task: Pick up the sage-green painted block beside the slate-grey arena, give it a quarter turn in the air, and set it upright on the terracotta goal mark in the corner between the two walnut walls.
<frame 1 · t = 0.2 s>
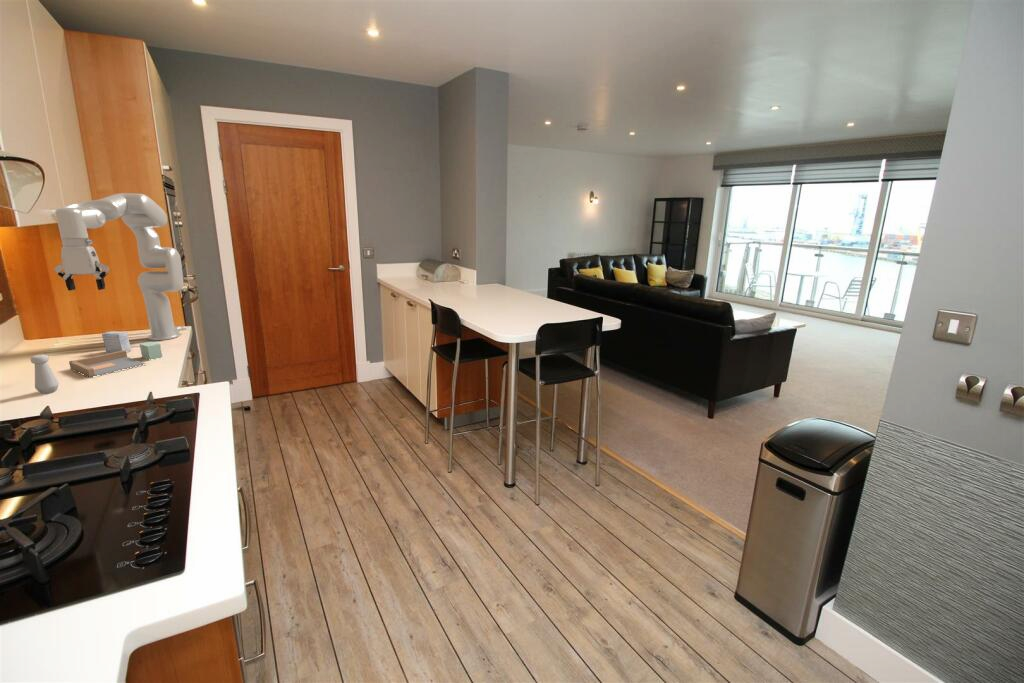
hand: (86, 289, 182), 31 cm above the worktop, tool pointing down, fingers open, 9 cm apart
medicine box: (119, 352, 210), on the worktop
green block: (152, 357, 202), on the worktop
arena: (109, 367, 190), on the worktop
salt shaker: (48, 392, 165), on the worktop
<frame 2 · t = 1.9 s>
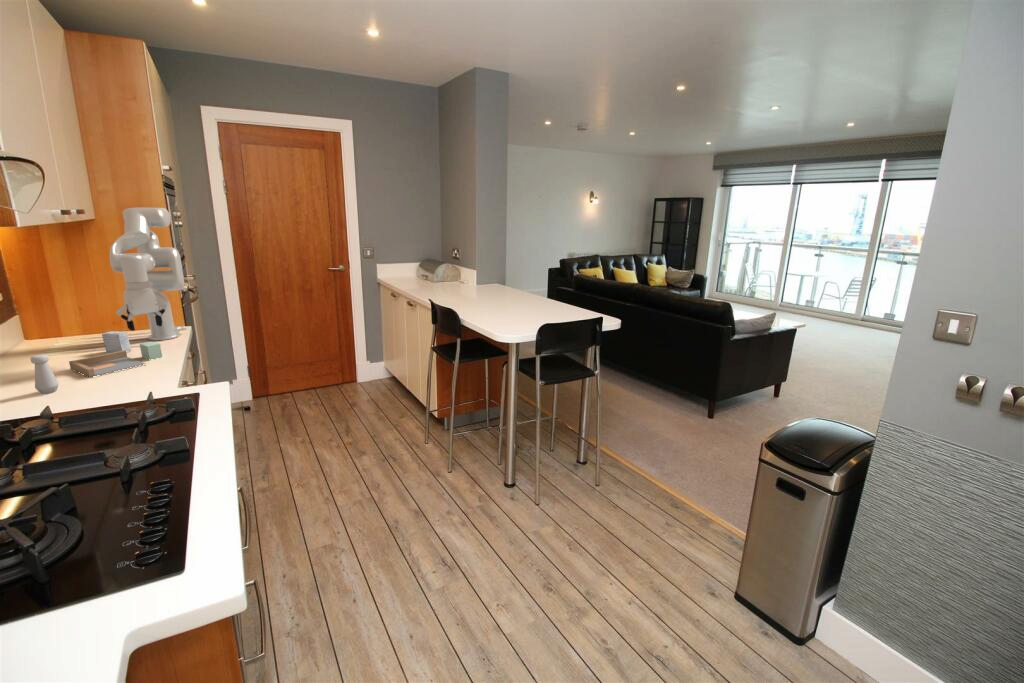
hand: (146, 327, 198), 13 cm above the worktop, tool pointing down, fingers open, 9 cm apart
nothing on the worktop moved.
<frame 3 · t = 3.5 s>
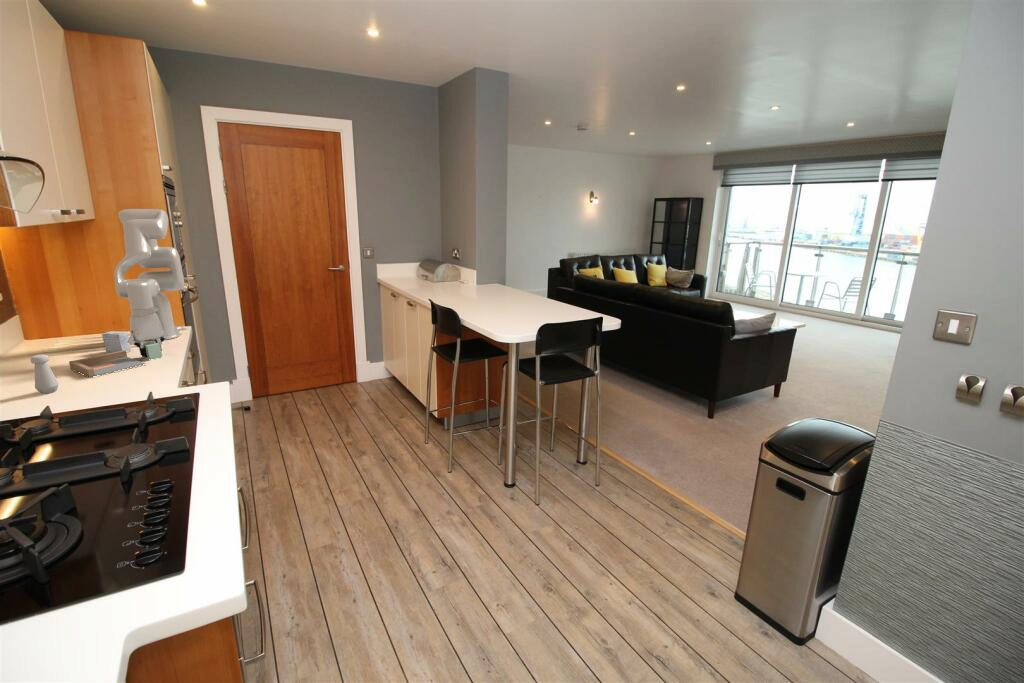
hand: (151, 354, 202), 1 cm above the worktop, tool pointing down, fingers closed on green block, 4 cm apart
green block: (152, 357, 202), on the worktop, touching gripper
everything else where it was.
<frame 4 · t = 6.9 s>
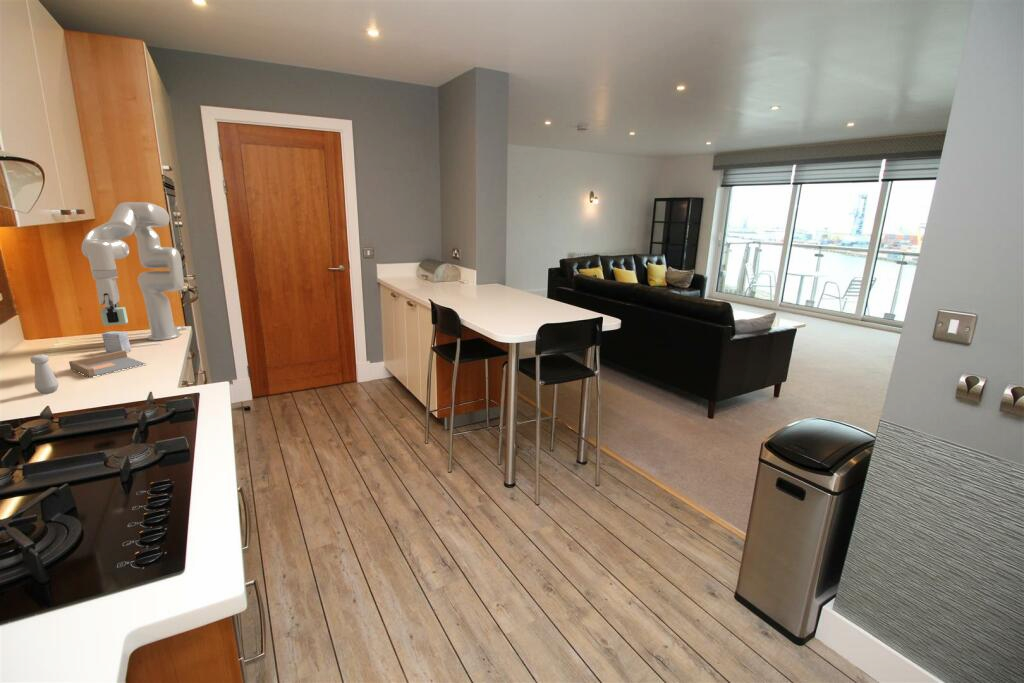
hand: (115, 320, 190), 18 cm above the worktop, tool pointing down, fingers closed on green block, 4 cm apart
green block: (116, 323, 190), point 16 cm above the worktop, touching gripper
everything else where it was.
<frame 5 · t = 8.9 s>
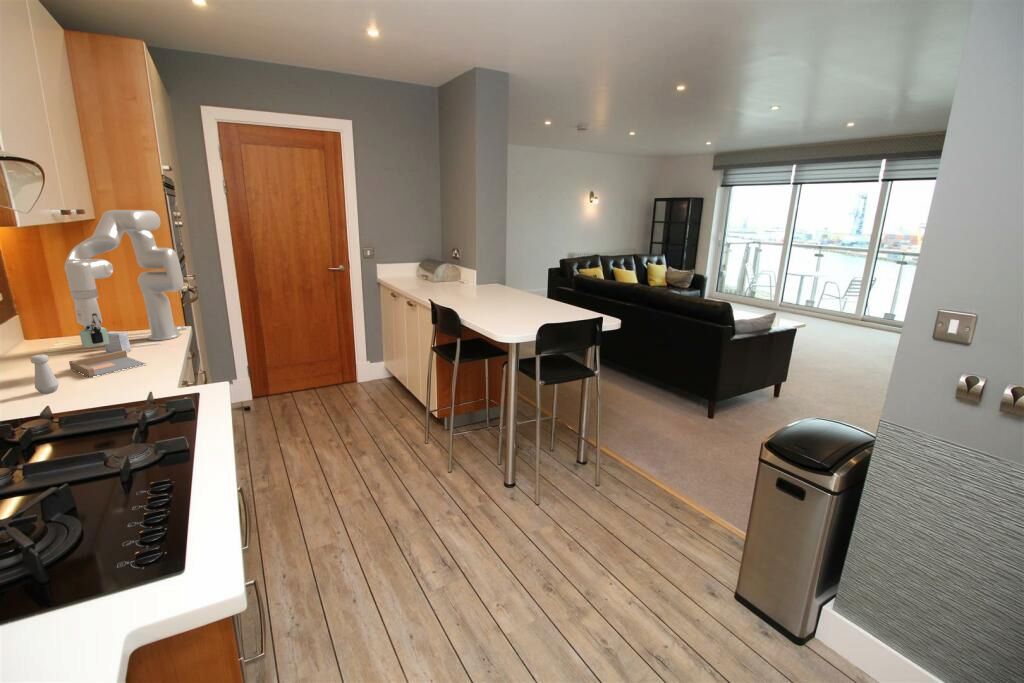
hand: (95, 341, 186), 11 cm above the worktop, tool pointing down, fingers closed on green block, 4 cm apart
green block: (96, 344, 186), point 10 cm above the worktop, touching gripper
everything else where it was.
when the fingers open (3 cm above the worktop, at t = 10.6 s): green block stays where it is, resting on arena.
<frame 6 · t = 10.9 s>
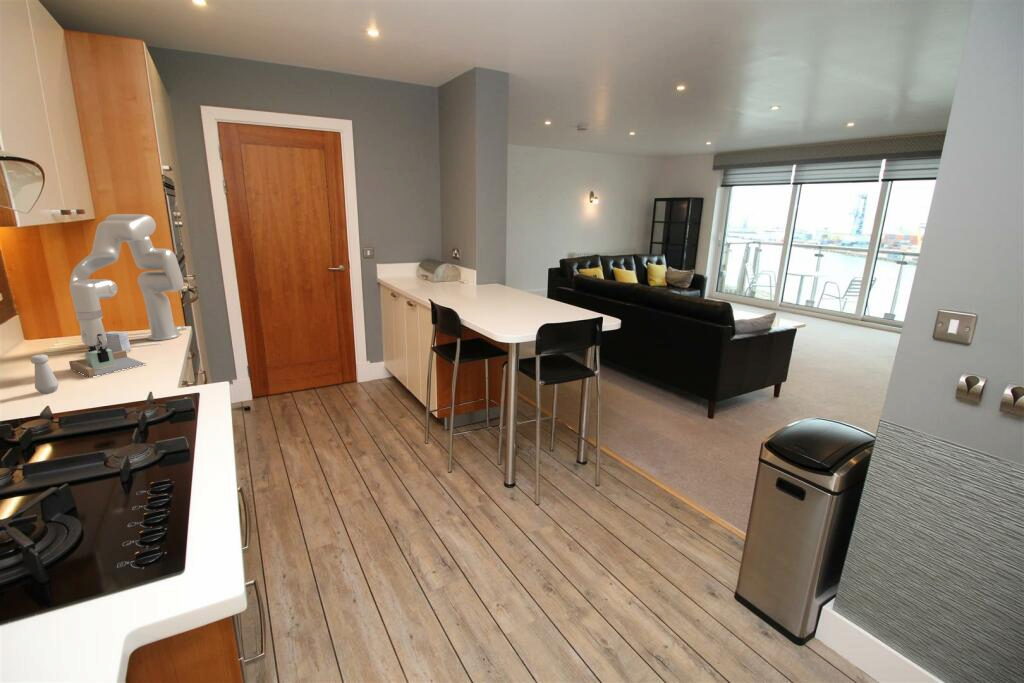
hand: (100, 359, 188), 3 cm above the worktop, tool pointing down, fingers open, 7 cm apart
green block: (101, 366, 189), point 1 cm above the worktop, touching arena
everything else where it was.
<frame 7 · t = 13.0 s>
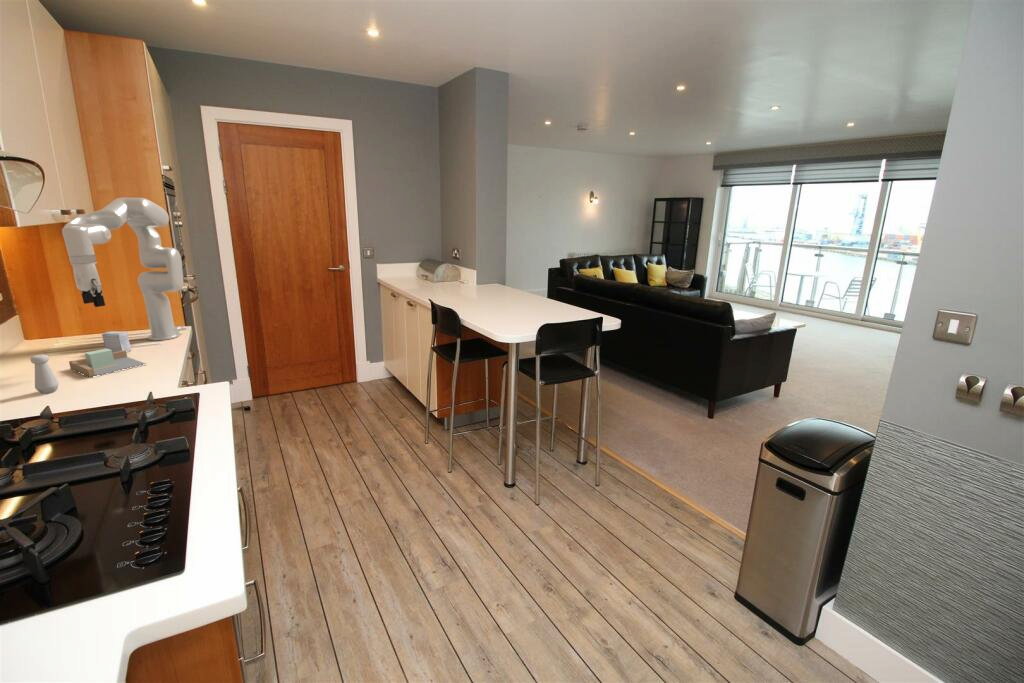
hand: (94, 304, 187), 24 cm above the worktop, tool pointing down, fingers open, 9 cm apart
nothing on the worktop moved.
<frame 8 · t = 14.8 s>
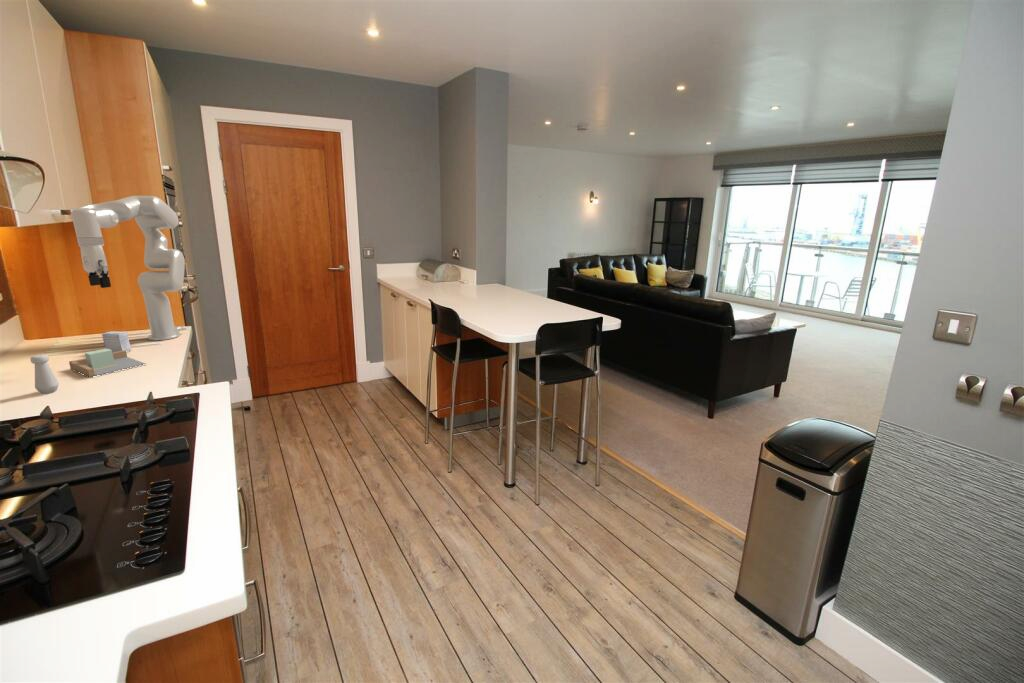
hand: (100, 286, 191), 30 cm above the worktop, tool pointing down, fingers open, 9 cm apart
nothing on the worktop moved.
at the end: green block 0.1 cm from the target spot, point 0.7 cm above the worktop; green block tilted 0°; the gripper is holding nothing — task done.
